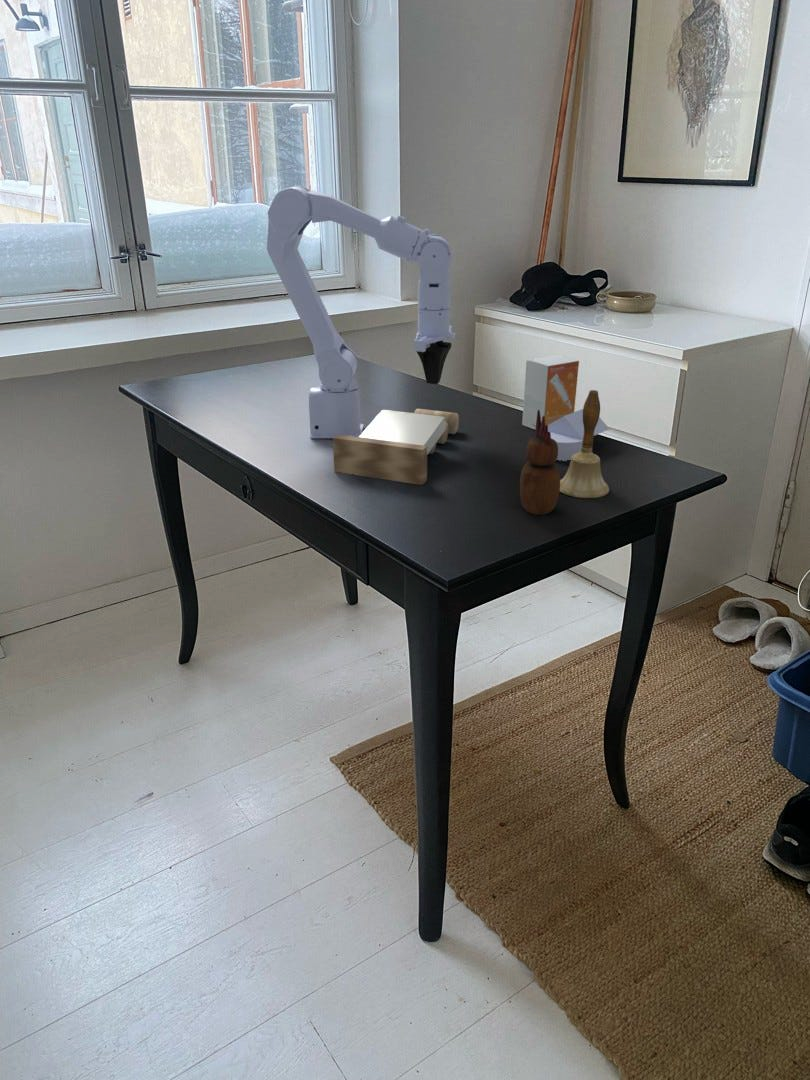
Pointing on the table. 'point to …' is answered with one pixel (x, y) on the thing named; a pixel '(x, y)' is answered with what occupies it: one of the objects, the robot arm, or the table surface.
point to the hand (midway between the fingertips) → (433, 382)
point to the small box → (549, 389)
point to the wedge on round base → (571, 434)
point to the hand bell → (586, 458)
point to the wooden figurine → (540, 472)
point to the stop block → (380, 459)
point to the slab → (406, 428)
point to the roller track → (450, 423)
